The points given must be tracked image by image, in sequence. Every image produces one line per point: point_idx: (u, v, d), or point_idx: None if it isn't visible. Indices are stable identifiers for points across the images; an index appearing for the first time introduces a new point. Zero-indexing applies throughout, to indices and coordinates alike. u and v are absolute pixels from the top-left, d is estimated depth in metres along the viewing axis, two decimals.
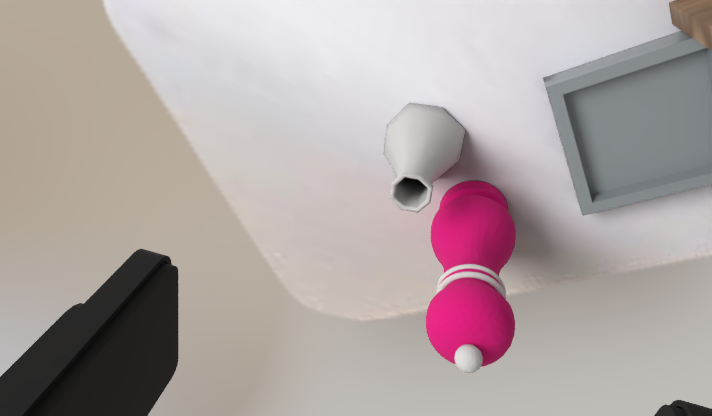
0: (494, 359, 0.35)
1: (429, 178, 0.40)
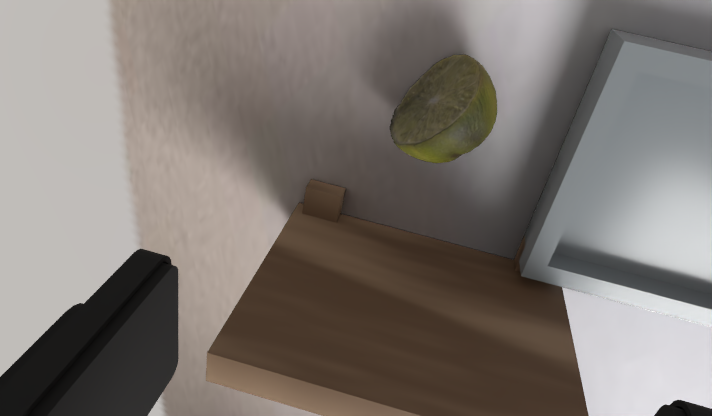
0: None
1: None
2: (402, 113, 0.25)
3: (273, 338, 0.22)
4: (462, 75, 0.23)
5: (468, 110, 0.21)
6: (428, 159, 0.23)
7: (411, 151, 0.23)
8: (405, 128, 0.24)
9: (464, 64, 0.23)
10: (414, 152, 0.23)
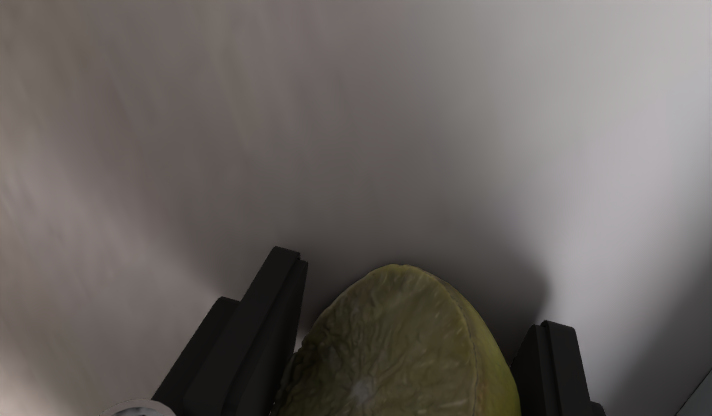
0: None
1: None
2: (293, 396, 0.10)
3: None
4: (432, 348, 0.09)
5: None
6: None
7: None
8: None
9: (437, 314, 0.09)
10: None
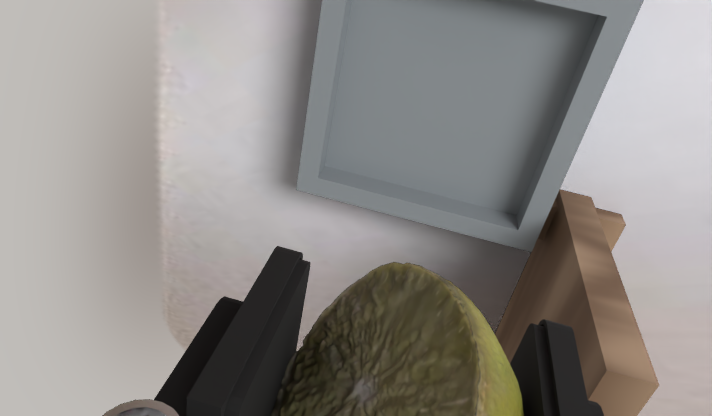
0: None
1: None
2: (295, 396, 0.10)
3: None
4: (434, 346, 0.09)
5: None
6: None
7: None
8: None
9: (439, 313, 0.09)
10: None
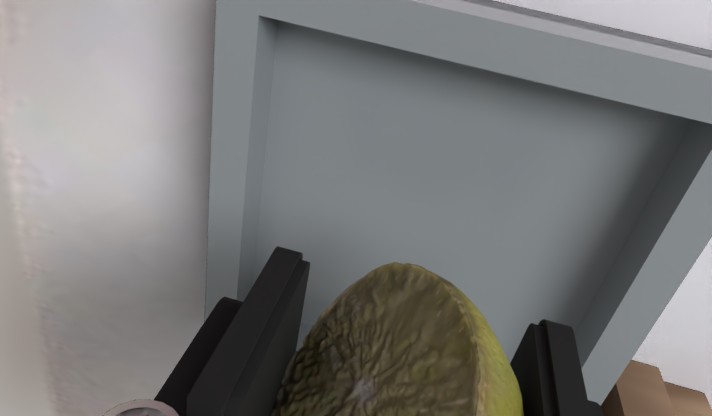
0: None
1: None
2: (295, 396, 0.10)
3: None
4: (434, 347, 0.09)
5: None
6: None
7: None
8: None
9: (440, 313, 0.09)
10: None
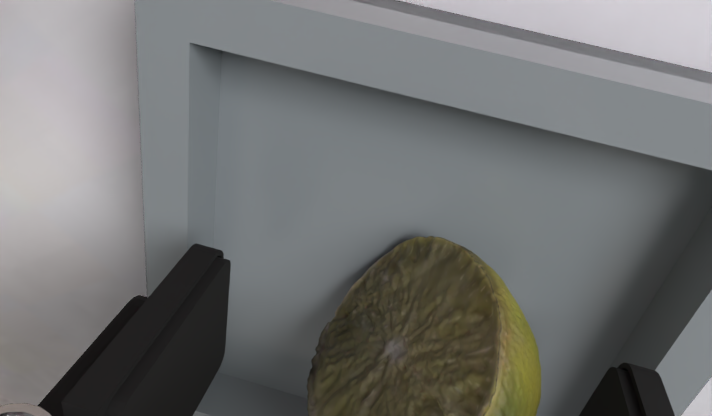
0: None
1: None
2: (331, 358, 0.11)
3: None
4: (458, 307, 0.10)
5: None
6: None
7: None
8: (334, 408, 0.11)
9: (462, 277, 0.10)
10: None
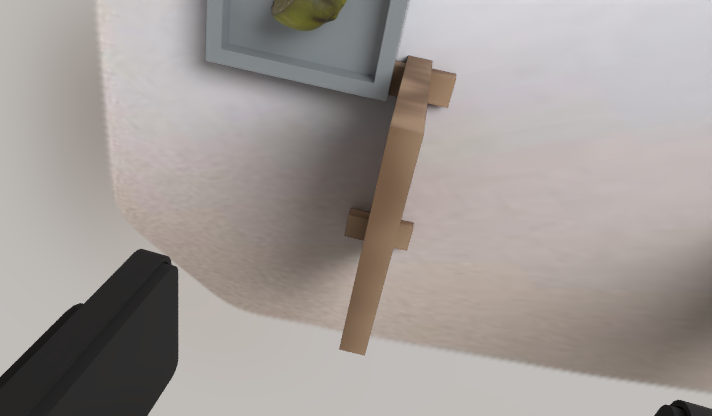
0: None
1: None
2: None
3: None
4: None
5: None
6: (296, 24, 0.29)
7: (283, 19, 0.30)
8: (280, 3, 0.30)
9: None
10: (285, 19, 0.29)
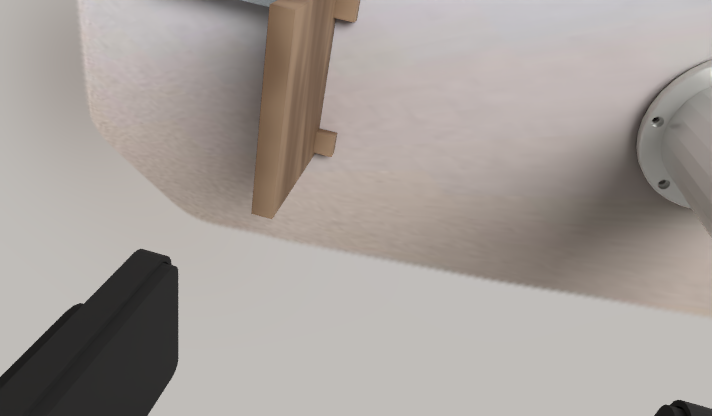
0: None
1: None
2: None
3: None
4: None
5: None
6: None
7: None
8: None
9: None
10: None
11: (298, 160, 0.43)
